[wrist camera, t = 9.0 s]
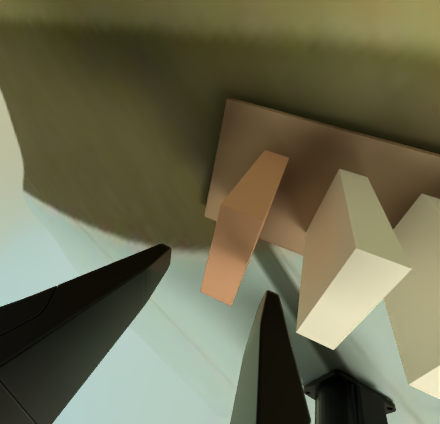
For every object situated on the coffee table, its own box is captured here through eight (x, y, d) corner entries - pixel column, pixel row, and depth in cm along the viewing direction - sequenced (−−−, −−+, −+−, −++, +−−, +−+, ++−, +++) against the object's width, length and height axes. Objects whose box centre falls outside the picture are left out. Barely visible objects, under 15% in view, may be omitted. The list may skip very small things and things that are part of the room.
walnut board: (804, 253, 10) (849, 269, 9) (578, 354, 15) (593, 370, 14) (231, 98, 15) (226, 98, 14) (209, 210, 20) (204, 216, 19)
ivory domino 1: (367, 177, 13) (412, 269, 7) (328, 241, 16) (333, 350, 10) (339, 168, 14) (356, 248, 7) (305, 232, 16) (295, 332, 10)
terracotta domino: (289, 157, 14) (263, 220, 8) (265, 220, 17) (231, 306, 11) (264, 150, 15) (220, 204, 8) (245, 213, 17) (200, 291, 11)
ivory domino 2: (454, 203, 12) (601, 338, 6) (397, 266, 15) (454, 406, 9) (421, 193, 13) (527, 310, 6) (371, 257, 15) (408, 384, 9)
